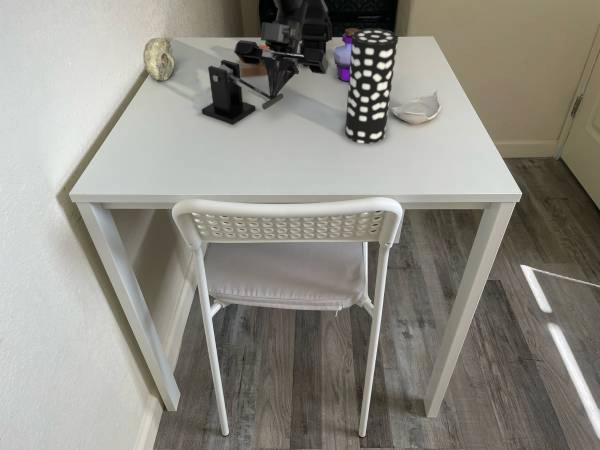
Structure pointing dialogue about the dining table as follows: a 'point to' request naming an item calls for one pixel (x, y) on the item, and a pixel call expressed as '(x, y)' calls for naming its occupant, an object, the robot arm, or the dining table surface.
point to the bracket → (226, 96)
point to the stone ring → (158, 58)
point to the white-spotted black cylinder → (370, 84)
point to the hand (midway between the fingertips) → (272, 97)
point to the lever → (252, 88)
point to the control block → (253, 69)
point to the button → (263, 47)
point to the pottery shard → (419, 109)
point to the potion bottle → (344, 55)
